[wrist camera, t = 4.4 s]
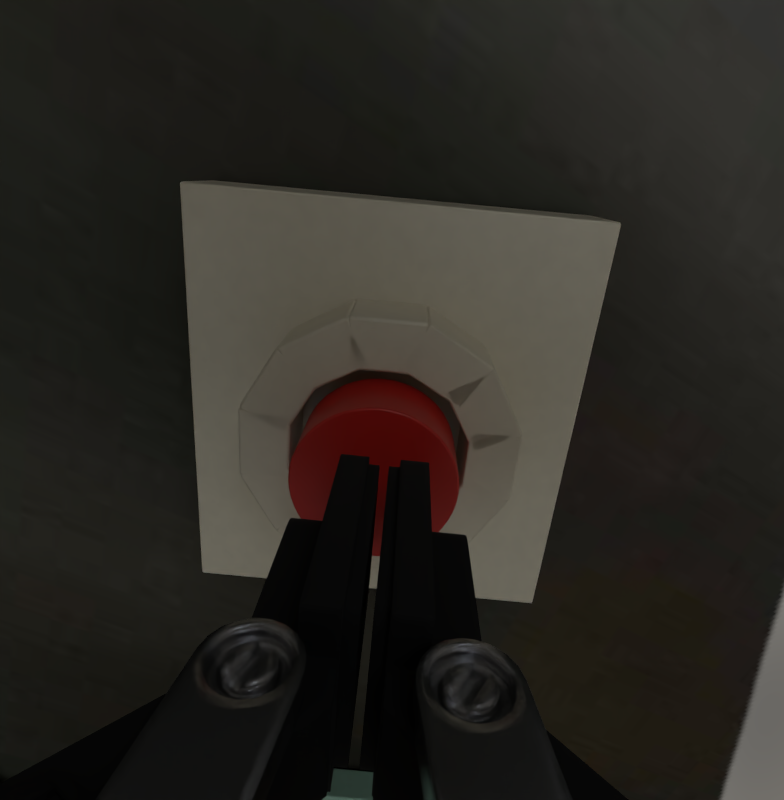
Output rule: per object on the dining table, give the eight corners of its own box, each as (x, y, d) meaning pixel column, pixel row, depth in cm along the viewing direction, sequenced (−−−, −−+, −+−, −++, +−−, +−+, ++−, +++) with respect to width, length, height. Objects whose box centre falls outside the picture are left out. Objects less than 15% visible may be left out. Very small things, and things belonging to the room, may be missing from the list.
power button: (305, 370, 12) (288, 400, 11) (463, 385, 12) (470, 417, 11) (301, 505, 14) (286, 549, 12) (444, 518, 14) (448, 564, 12)
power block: (211, 180, 14) (142, 182, 11) (592, 215, 14) (654, 230, 11) (224, 529, 19) (177, 617, 15) (519, 556, 19) (545, 652, 15)
